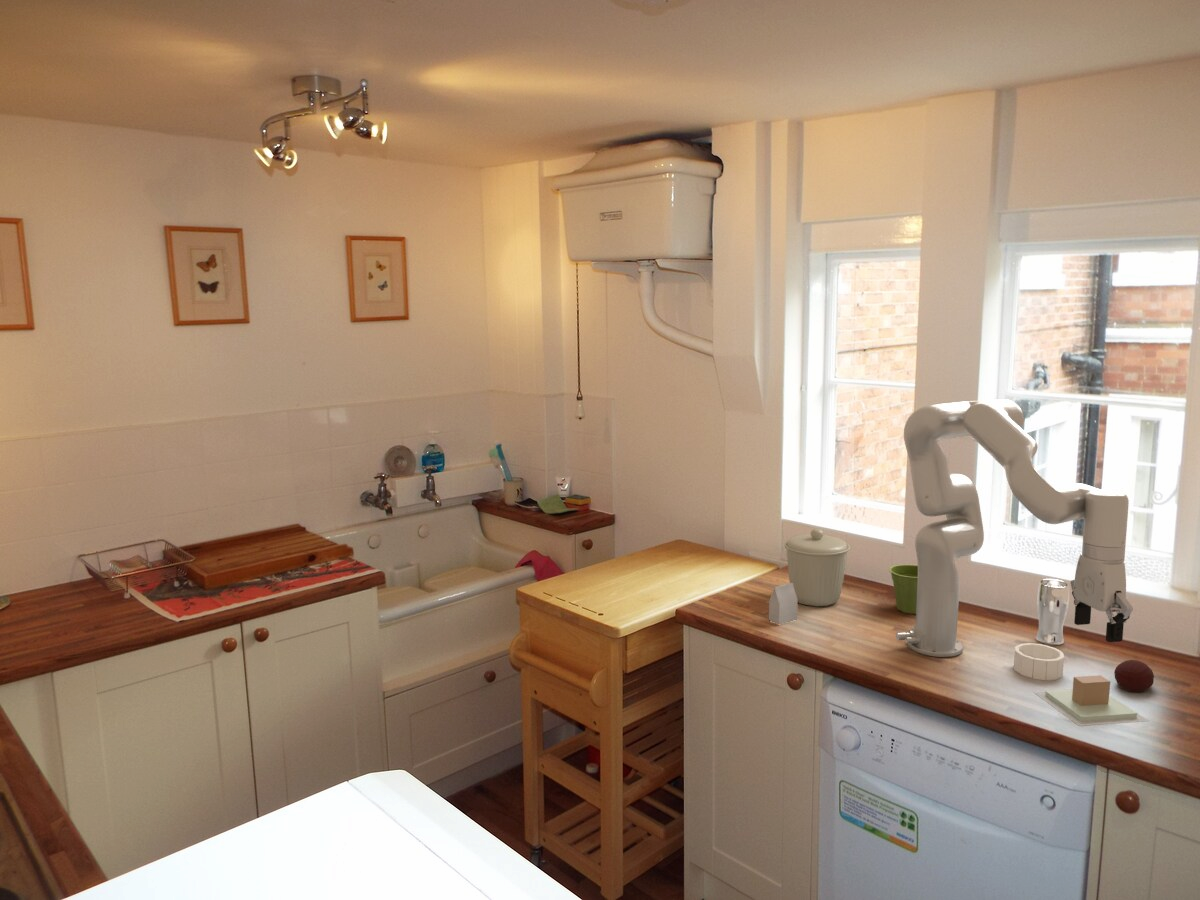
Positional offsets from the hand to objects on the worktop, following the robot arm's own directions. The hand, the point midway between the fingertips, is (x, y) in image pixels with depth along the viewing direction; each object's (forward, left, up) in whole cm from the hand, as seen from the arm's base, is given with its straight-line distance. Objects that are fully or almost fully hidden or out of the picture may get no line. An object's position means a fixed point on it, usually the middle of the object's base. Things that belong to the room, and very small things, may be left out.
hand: (1097, 632), depth 180 cm
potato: (+15, +8, -17) cm, 24 cm away
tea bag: (-47, +58, -17) cm, 77 cm away
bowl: (0, +18, -17) cm, 25 cm away
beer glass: (+14, +35, -17) cm, 42 cm away
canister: (-33, +72, -17) cm, 81 cm away
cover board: (0, 0, -16) cm, 16 cm away
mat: (0, 0, -17) cm, 17 cm away
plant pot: (-10, +61, -17) cm, 64 cm away
